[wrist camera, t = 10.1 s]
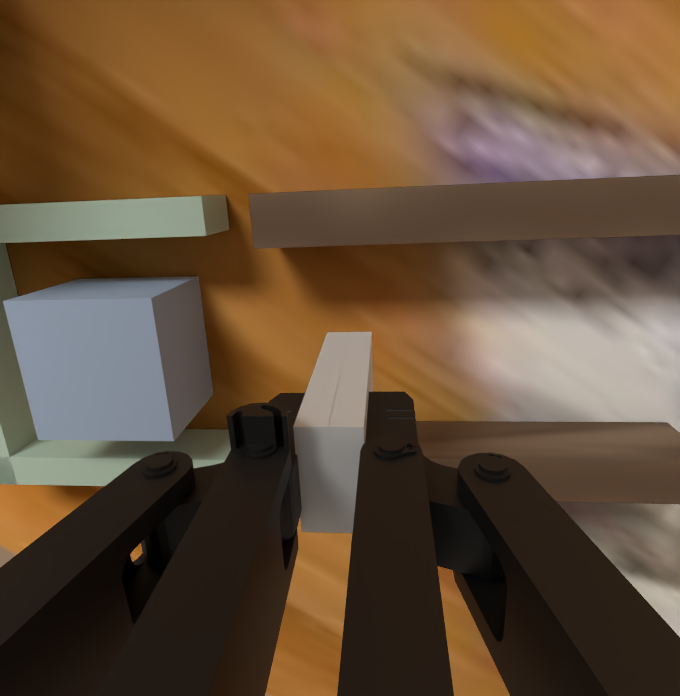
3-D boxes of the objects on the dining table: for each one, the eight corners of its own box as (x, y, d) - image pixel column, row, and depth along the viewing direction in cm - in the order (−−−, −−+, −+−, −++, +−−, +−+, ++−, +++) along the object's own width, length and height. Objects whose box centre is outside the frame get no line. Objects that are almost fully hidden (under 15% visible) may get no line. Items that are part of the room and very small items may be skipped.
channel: (270, 193, 22) (248, 193, 18) (711, 173, 20) (775, 170, 16) (291, 455, 26) (276, 495, 22) (660, 460, 24) (704, 504, 20)
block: (79, 278, 24) (3, 300, 19) (199, 275, 23) (151, 298, 18) (102, 393, 26) (38, 439, 21) (214, 393, 25) (173, 441, 20)
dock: (-34, 206, 23) (-94, 209, 20) (225, 194, 22) (201, 195, 19) (30, 452, 27) (-12, 483, 24) (253, 455, 26) (237, 488, 23)
